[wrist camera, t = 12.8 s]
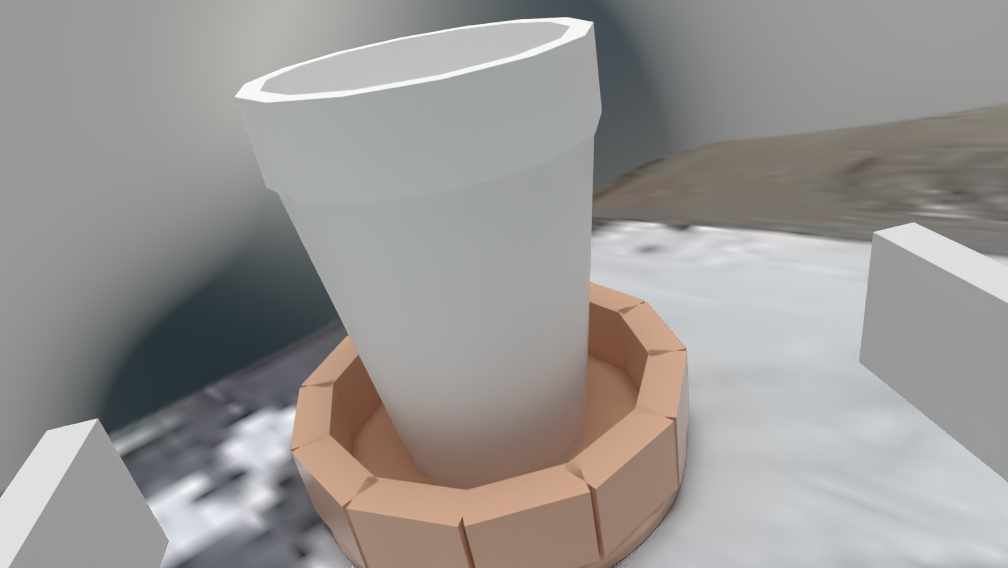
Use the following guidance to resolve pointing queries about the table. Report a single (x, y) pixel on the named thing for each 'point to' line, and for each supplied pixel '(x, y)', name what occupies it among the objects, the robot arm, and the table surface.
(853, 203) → the table surface
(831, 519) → the table surface
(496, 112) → the foam cup
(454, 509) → the bowl
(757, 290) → the table surface
